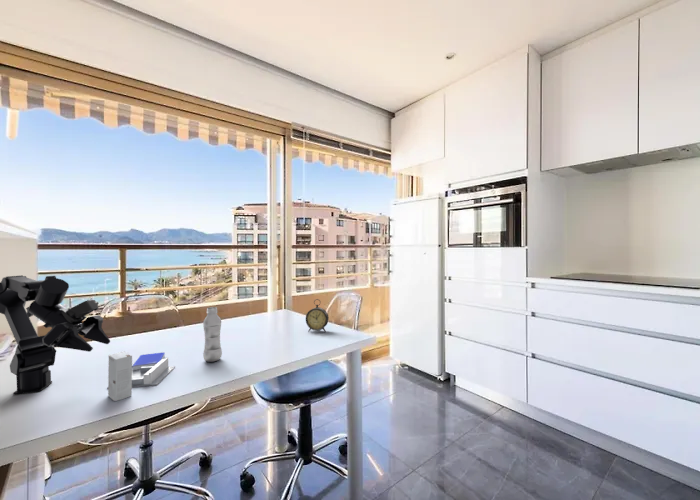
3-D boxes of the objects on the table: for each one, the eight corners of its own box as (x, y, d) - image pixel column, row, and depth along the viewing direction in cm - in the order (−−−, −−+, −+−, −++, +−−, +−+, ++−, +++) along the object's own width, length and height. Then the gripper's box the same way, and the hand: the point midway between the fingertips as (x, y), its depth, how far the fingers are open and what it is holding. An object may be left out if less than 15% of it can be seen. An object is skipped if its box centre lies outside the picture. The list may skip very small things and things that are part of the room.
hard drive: (159, 362, 110) (164, 352, 121) (131, 365, 107) (140, 354, 118) (159, 366, 110) (164, 356, 121) (131, 370, 107) (140, 359, 118)
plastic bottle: (217, 356, 121) (217, 305, 121) (225, 360, 116) (224, 308, 116) (200, 360, 117) (199, 308, 116) (207, 365, 112) (206, 310, 111)
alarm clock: (305, 332, 152) (305, 299, 152) (308, 329, 158) (308, 297, 157) (326, 333, 151) (326, 300, 150) (329, 330, 156) (329, 298, 156)
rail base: (107, 388, 94) (107, 376, 94) (132, 370, 108) (131, 359, 108) (156, 385, 97) (156, 373, 96) (175, 367, 110) (174, 356, 110)
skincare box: (107, 395, 90) (106, 354, 90) (125, 389, 94) (124, 350, 93) (115, 402, 87) (114, 359, 86) (133, 395, 90) (132, 354, 90)
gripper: (53, 294, 82) (104, 329, 84) (94, 290, 100) (135, 319, 102) (18, 328, 80) (72, 364, 82) (67, 318, 98) (109, 347, 100)
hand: (100, 346), depth 91 cm, fingers open, 9 cm apart
